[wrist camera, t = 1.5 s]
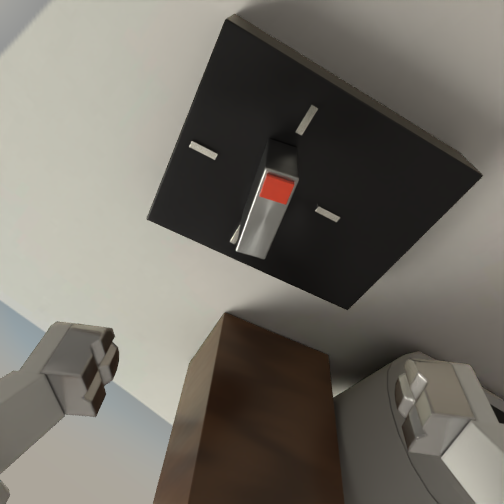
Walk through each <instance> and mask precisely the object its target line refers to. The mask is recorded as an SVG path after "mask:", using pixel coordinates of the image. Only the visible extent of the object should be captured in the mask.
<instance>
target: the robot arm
mask: <svg viewBox="0 0 504 504" xmlns="http://www.w3.org/2000/svg"><path fill="white" fill-rule="evenodd" d="M114 337H115V335H114V332H113V329H112V328H106V327H99V326H91V325H83V324H76V323H67V322H58V321H57V322H55V323H54V324H53V325H51V326H50V328H49V329H48V331H47V332H46V333H45V335H44V336H43V338H42V339H41V341H40V342H39V343H38V345H37V346H36V348H35V349H34V350H33V352H32V353H31V355H30V356H29V357H28V359H27V360H26V362H25V363H24V365H23V366H22V367H21V369H20V370H19V371H12V372H11V373H9V374H7V375H6V376H4V377H2V378H1V379H0V474H1V473H2V472H3V471H4V470H5V469H7V468H8V467H9V466H10V465H11V464H12V463H13V462H14V461H15V460H16V459H18V458H19V457H20V456H21V455H22V454H23V453H24V452H25V451H27V450H28V449H29V448H30V447H31V446H32V445H33V444H34V443H36V442H37V441H38V440H39V439H40V438H41V437H42V436H43V435H44V434H45V433H47V432H48V431H49V430H50V429H51V428H52V427H53V426H55V425H56V424H57V422H59V421H60V420H61V419H62V418H63V417H64V416H65V415H64V414H66V415H79V416H91V417H96V416H97V413H98V411H99V409H100V407H101V405H102V402H103V400H104V398H105V395H106V392H105V388H104V386H105V385H106V384H108V383H109V382H110V381H112V380H113V378H114V376H115V373H116V371H117V367H118V362H119V350H118V347H117V346H116V345H115V344H114V343H113V342H112V341H113V339H114ZM404 369H405V373H403V374H402V375H400V376H399V377H398V379H397V381H396V383H395V393H394V394H395V402H396V407H397V411H398V412H399V413H400V414H401V415H402V416H403V417H404V418H405V421H404V423H403V425H402V430H403V434H404V438H405V442H406V446H407V450H408V452H413V453H420V454H427V455H434V456H441V459H442V460H443V462H444V463H445V464H446V466H447V467H448V468H449V469H450V471H451V472H452V473H453V475H454V476H455V477H456V479H457V480H458V481H459V482H460V484H461V485H462V486H463V488H464V489H465V490H466V491H467V493H468V494H469V495H470V497H471V498H472V499H473V501H474V502H475V503H476V504H504V424H502V423H499V422H498V420H497V417H496V415H495V413H494V411H493V409H492V407H491V405H490V403H489V401H488V399H487V397H486V395H485V393H484V391H483V389H482V387H481V385H480V383H479V381H478V379H477V376H476V374H475V372H474V370H473V368H472V367H471V366H470V365H469V364H465V363H454V362H446V361H438V360H427V359H415V358H410V359H408V360H407V361H406V363H405V365H404ZM9 496H10V493H9V489H8V488H7V487H6V486H5V485H4V483H3V482H2V481H1V480H0V504H6V502H7V500H8V498H9Z"/></svg>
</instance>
